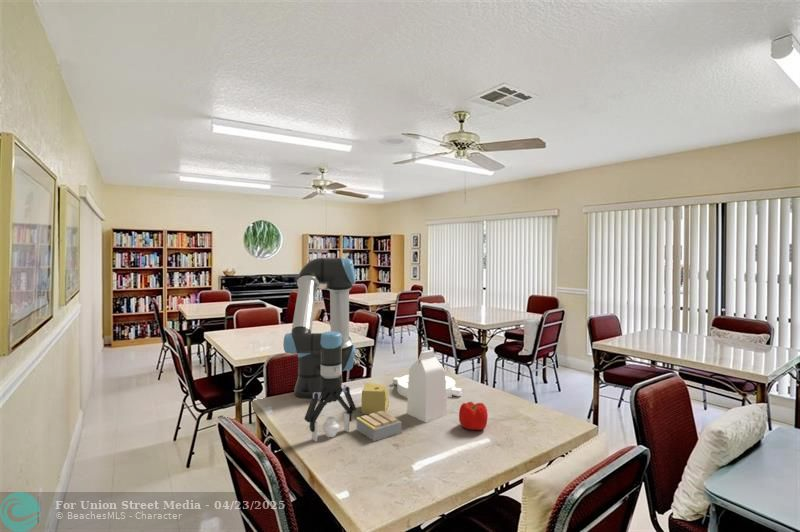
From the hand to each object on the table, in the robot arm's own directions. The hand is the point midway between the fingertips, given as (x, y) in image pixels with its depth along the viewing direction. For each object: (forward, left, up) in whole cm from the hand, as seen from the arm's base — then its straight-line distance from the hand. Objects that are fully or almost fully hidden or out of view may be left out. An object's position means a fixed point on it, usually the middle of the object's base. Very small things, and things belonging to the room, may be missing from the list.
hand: (331, 435), depth 144 cm
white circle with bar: (-18, +60, -1) cm, 63 cm away
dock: (+7, +16, 0) cm, 17 cm away
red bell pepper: (+25, +47, 0) cm, 53 cm away
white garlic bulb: (0, 0, 0) cm, 0 cm away
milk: (+5, +41, 0) cm, 41 cm away
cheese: (-11, +26, 0) cm, 28 cm away
